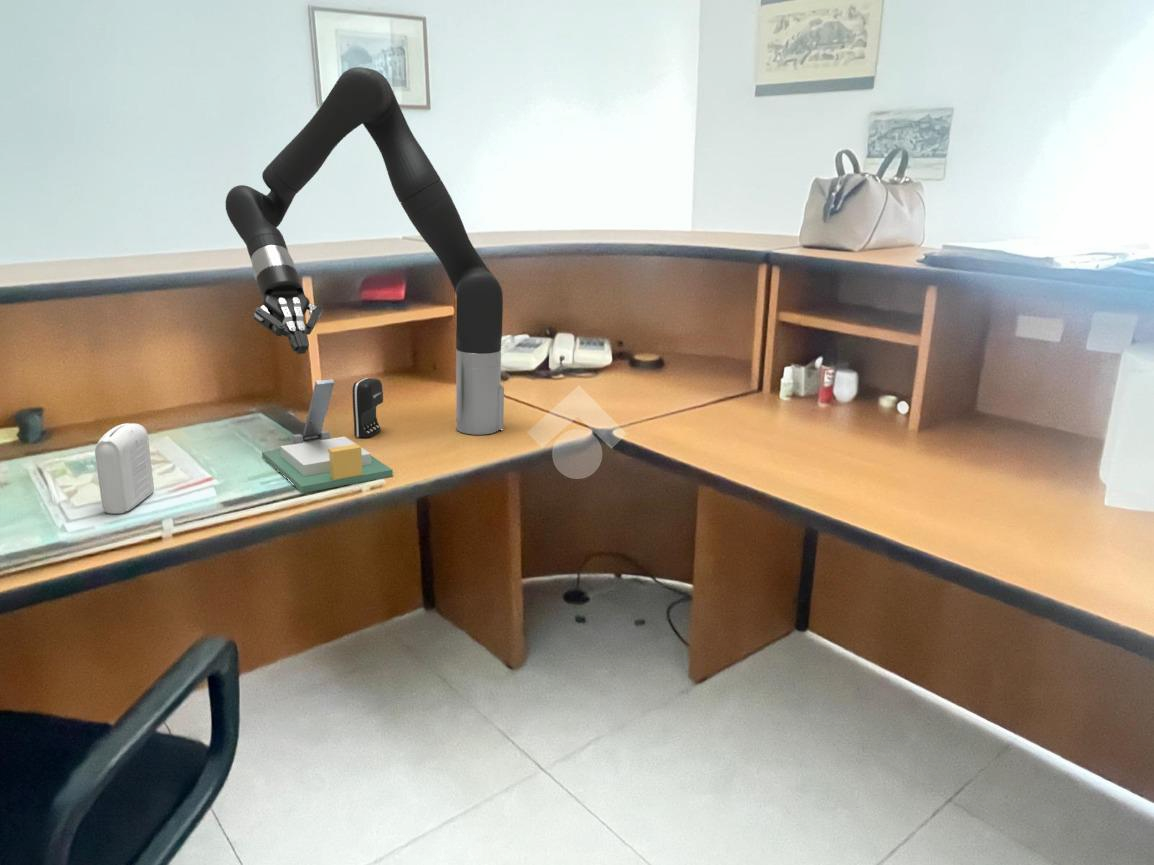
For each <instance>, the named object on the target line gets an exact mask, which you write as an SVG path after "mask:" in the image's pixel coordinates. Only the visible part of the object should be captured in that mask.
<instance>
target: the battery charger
mask: <svg viewBox="0 0 1154 865" xmlns="http://www.w3.org/2000/svg"><path fill="white" fill-rule="evenodd" d="M383 402H384V392H383V383H382V382H381V380H380V379H378V378H371V377H364V378H362V379H359V380H358V381H355V382H354V384H353V386H352V410H353V412H352V414H353V429H354V430H353V432H354V437H355V438H371V437H373V436H375V435H376V434H377V433H380V432H381V430H382V428H381V425H380V424H379V422H378V418H377V407H378V405H379V406H380V404H382V403H383Z"/></svg>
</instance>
